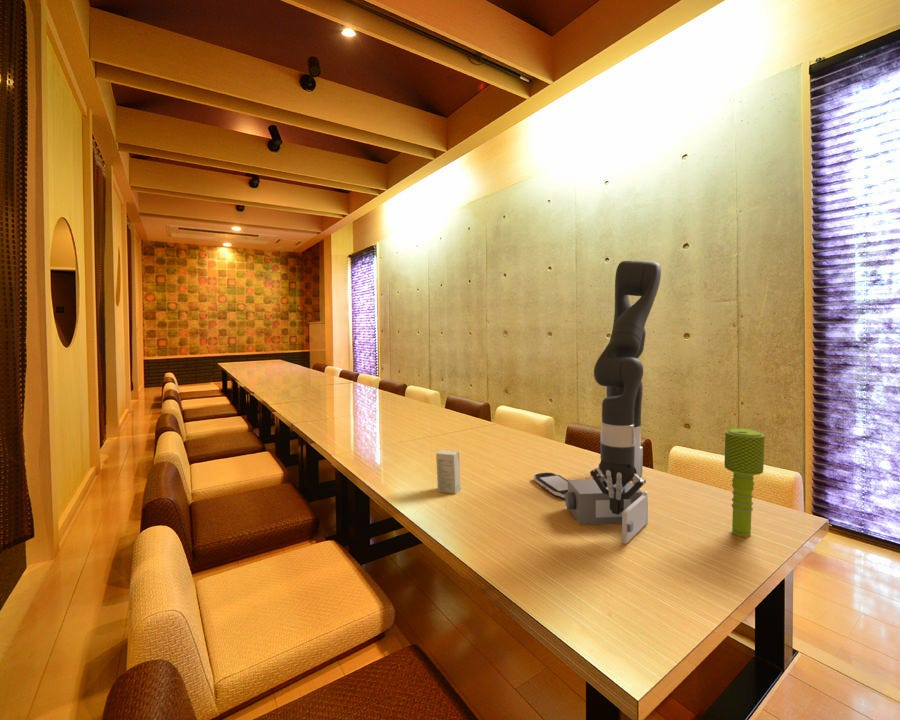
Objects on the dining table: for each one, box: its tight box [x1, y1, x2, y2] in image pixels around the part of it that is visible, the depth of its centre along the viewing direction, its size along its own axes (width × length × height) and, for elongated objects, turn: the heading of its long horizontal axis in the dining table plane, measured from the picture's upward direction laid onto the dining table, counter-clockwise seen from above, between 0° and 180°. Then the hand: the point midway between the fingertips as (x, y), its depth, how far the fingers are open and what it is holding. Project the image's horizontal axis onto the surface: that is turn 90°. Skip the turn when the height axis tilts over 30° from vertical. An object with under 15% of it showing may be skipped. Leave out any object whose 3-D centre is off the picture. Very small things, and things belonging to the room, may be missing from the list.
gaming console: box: [533, 472, 569, 500], centre depth 132 cm, size 19×9×2 cm, turn 17°
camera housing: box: [564, 478, 643, 526], centre depth 112 cm, size 10×18×9 cm, turn 92°
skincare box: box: [435, 449, 462, 495], centre depth 131 cm, size 6×4×12 cm
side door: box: [621, 490, 649, 544], centre depth 102 cm, size 2×14×8 cm, turn 137°
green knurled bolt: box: [723, 428, 766, 538], centre depth 101 cm, size 8×8×25 cm
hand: (616, 512), depth 101 cm, fingers closed
